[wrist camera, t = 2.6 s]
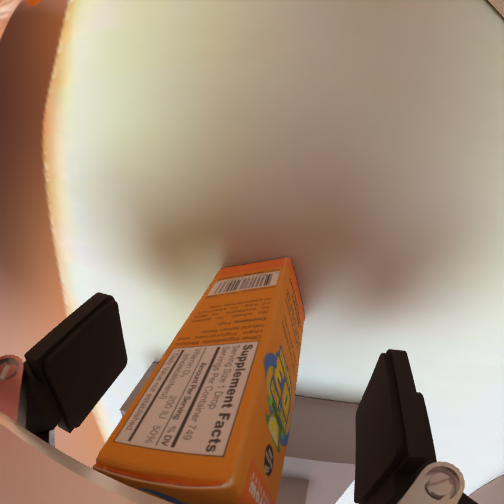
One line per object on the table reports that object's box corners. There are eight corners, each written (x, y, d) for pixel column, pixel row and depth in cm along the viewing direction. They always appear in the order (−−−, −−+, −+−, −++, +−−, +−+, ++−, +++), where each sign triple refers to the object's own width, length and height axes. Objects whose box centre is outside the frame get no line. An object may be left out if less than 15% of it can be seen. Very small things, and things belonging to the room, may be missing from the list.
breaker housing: (153, 361, 17) (96, 444, 11) (364, 404, 15) (364, 509, 9) (172, 460, 22) (143, 519, 16) (315, 491, 20) (304, 558, 14)
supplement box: (313, 320, 14) (273, 550, 5) (239, 327, 15) (148, 525, 6) (298, 250, 13) (226, 500, 4) (218, 263, 14) (73, 459, 5)
